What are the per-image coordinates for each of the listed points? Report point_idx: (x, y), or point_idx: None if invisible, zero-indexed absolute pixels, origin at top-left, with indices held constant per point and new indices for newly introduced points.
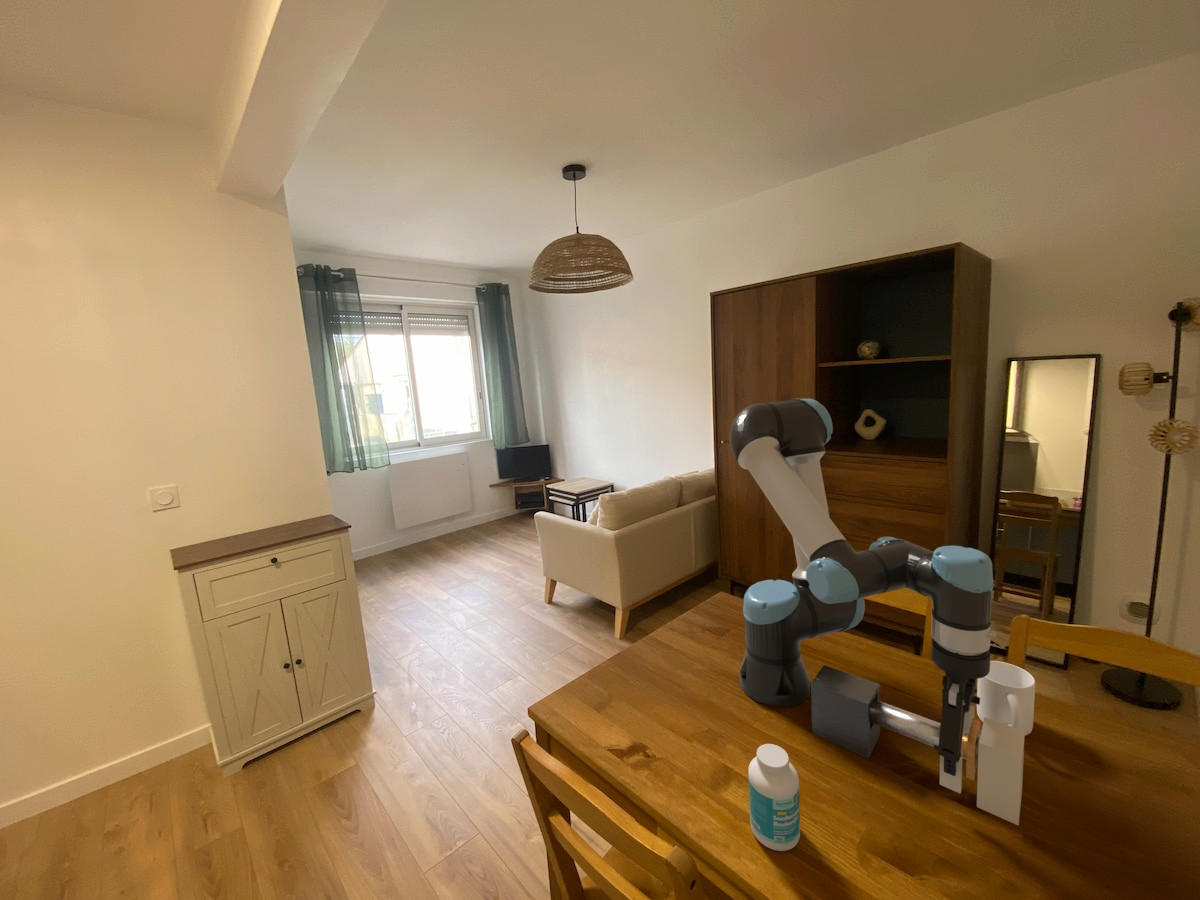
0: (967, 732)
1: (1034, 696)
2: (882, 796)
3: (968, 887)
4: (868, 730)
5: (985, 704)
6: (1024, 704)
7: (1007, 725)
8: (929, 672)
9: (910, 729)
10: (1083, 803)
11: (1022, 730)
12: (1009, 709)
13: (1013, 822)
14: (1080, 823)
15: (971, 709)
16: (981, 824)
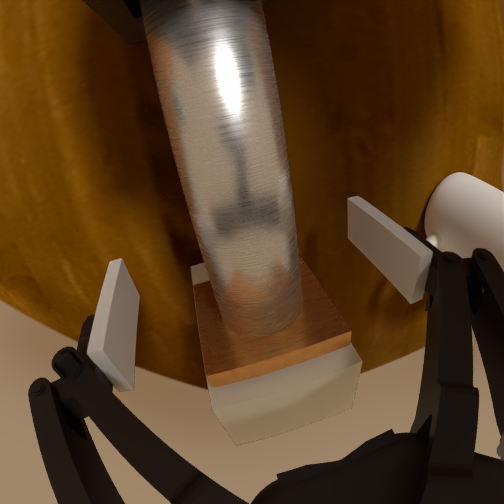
0: (357, 236)
1: None
2: (44, 142)
3: (33, 316)
4: (110, 23)
5: (466, 211)
6: None
7: (354, 392)
8: (500, 81)
9: (175, 159)
10: None
11: (351, 405)
12: (461, 256)
13: None
14: None
15: (405, 291)
16: (155, 286)
